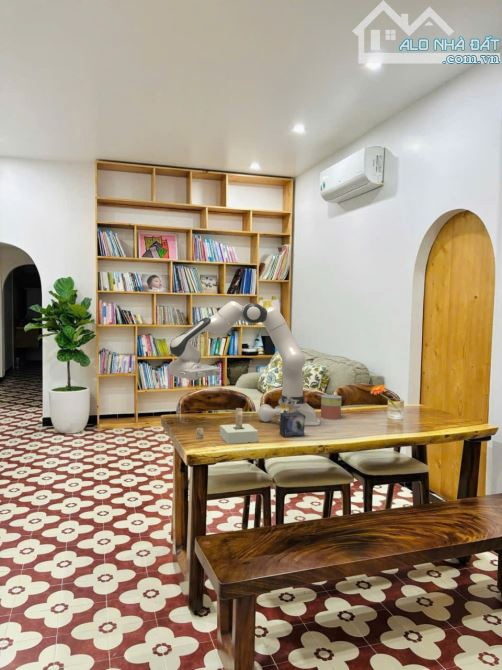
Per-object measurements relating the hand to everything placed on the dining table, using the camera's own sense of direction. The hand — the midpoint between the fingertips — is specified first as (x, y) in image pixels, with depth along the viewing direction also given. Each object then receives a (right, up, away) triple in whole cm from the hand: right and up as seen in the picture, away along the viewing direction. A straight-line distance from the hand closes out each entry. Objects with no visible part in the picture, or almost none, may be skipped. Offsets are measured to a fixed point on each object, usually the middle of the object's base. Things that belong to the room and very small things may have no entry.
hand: (212, 374), depth 234 cm
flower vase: (+32, -28, +15) cm, 45 cm away
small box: (+38, -29, -5) cm, 48 cm away
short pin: (-5, -28, -14) cm, 32 cm away
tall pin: (+13, -29, -13) cm, 34 cm away
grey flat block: (+13, -29, -13) cm, 34 cm away
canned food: (+63, -27, +35) cm, 78 cm away
